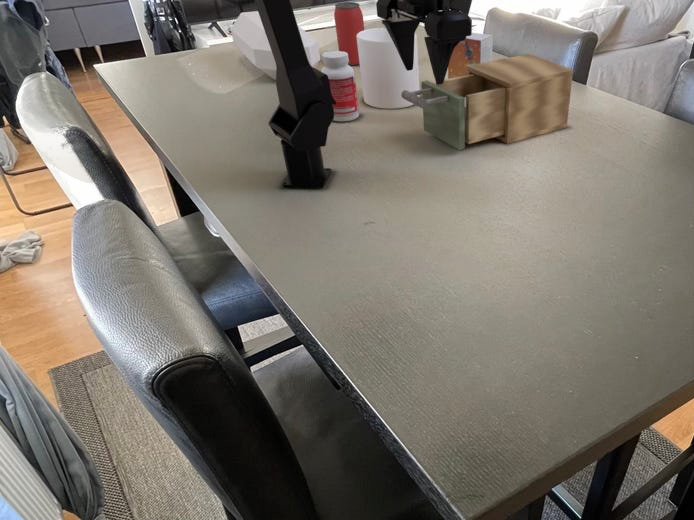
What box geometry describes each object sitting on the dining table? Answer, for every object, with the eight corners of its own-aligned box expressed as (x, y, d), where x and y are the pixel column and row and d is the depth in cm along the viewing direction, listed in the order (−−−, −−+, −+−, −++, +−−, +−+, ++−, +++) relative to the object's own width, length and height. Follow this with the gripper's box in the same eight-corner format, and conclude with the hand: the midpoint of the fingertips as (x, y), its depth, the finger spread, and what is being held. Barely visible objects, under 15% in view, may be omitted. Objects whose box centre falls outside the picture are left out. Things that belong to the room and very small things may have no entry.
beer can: (337, 60, 143) (329, 2, 135) (363, 57, 145) (357, 0, 137) (344, 67, 139) (336, 8, 131) (371, 64, 141) (365, 6, 133)
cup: (367, 111, 117) (360, 43, 109) (360, 92, 125) (352, 28, 117) (425, 106, 119) (421, 40, 111) (414, 89, 128) (410, 25, 119)
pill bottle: (364, 118, 114) (357, 55, 106) (335, 124, 111) (325, 60, 104) (351, 109, 118) (343, 47, 110) (322, 115, 115) (312, 52, 107)
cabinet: (507, 143, 105) (509, 83, 98) (466, 123, 113) (466, 65, 106) (566, 127, 112) (573, 69, 105) (524, 109, 119) (528, 53, 112)
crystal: (253, 37, 121) (222, 10, 138) (265, 87, 127) (234, 56, 145) (321, 29, 126) (283, 5, 144) (328, 78, 133) (291, 49, 150)
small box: (447, 89, 127) (446, 35, 120) (460, 83, 131) (459, 29, 124) (480, 95, 125) (480, 40, 118) (491, 88, 128) (493, 34, 121)
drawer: (431, 157, 98) (429, 105, 92) (396, 137, 105) (392, 86, 99) (519, 133, 106) (522, 84, 101) (482, 116, 113) (483, 68, 107)
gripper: (503, -35, 83) (498, 83, 94) (431, -51, 94) (434, 57, 105) (437, -30, 78) (440, 95, 89) (370, -48, 89) (379, 66, 99)
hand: (424, 76), depth 95 cm, fingers open, 9 cm apart
